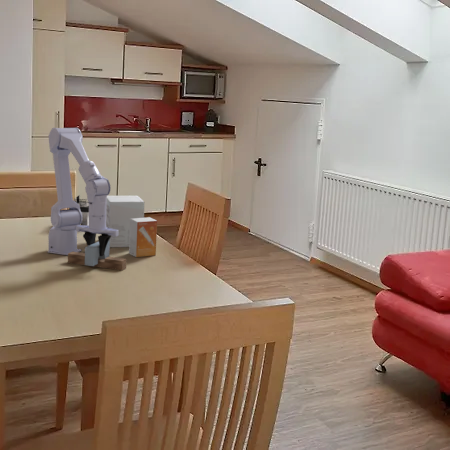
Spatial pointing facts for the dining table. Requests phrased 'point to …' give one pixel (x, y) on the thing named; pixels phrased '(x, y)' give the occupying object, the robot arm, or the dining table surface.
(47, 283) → the dining table surface
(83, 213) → the black-topped pedestal
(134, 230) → the small box
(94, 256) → the plain blue-gray board
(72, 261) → the notched rail
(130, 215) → the supplement box
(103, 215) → the robot arm
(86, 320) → the dining table surface
